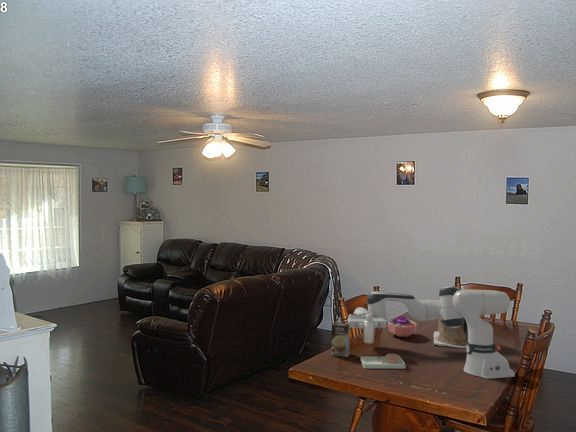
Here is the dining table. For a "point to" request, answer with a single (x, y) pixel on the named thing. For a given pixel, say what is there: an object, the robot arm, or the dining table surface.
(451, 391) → the dining table surface
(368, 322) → the bottle
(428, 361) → the dining table surface
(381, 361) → the tray
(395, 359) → the sugar pot
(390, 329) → the cell model
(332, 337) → the coffee box
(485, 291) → the robot arm
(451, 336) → the cookie jar
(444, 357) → the dining table surface
